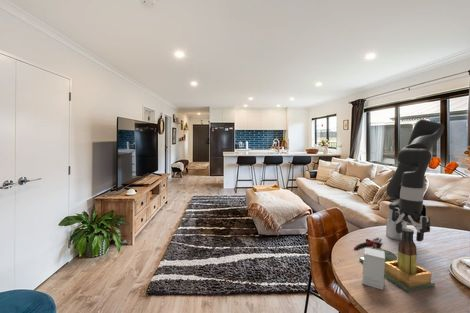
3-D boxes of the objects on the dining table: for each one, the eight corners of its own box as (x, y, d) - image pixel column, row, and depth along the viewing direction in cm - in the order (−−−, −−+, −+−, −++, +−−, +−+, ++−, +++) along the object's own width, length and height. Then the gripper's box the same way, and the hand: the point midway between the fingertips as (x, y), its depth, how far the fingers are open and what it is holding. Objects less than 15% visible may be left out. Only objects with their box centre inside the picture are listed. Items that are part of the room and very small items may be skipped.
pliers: (370, 252, 118) (388, 238, 131) (352, 245, 125) (372, 233, 138) (369, 257, 118) (388, 244, 131) (352, 251, 125) (371, 238, 138)
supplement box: (383, 290, 90) (385, 258, 89) (361, 284, 94) (363, 253, 93) (383, 280, 97) (385, 251, 96) (363, 275, 100) (364, 246, 100)
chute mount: (359, 260, 113) (359, 249, 112) (383, 257, 116) (383, 246, 116) (407, 291, 90) (407, 277, 89) (434, 286, 93) (435, 273, 93)
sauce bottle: (412, 273, 99) (415, 228, 98) (418, 282, 93) (421, 233, 92) (394, 270, 101) (397, 226, 100) (399, 278, 95) (402, 231, 94)
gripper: (437, 201, 89) (434, 243, 90) (402, 193, 103) (399, 229, 104) (421, 203, 87) (418, 245, 88) (388, 194, 101) (386, 230, 102)
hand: (408, 236), depth 96 cm, fingers open, 8 cm apart
